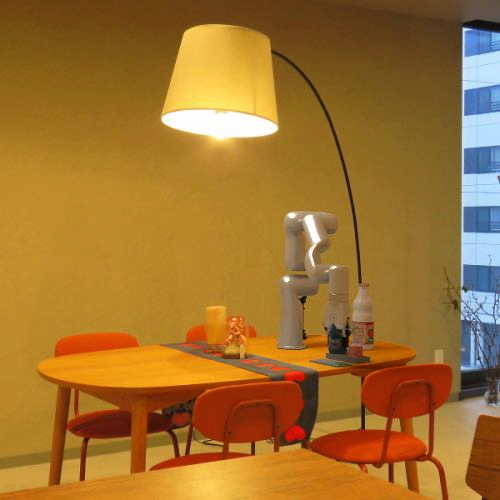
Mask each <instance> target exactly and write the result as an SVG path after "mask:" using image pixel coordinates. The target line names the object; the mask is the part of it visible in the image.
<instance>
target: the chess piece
mask: <svg viewBox="0 0 500 500" xmlns="http://www.w3.org/2000/svg"><path fill="white" fill-rule="evenodd" d="M300 297H301V298H300ZM300 297H298V299H299V300H300V302H301V303H302V305H303V341H306V340H307V339H308V336H307V333H306V329H304V323H305V321H304V319H305V315H304V314H305V311H304V310H305V309H306V308H305V306H304V305H305V304H306V303H307V299H308V296H300Z"/></svg>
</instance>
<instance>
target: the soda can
mask: <svg viewBox="0 0 500 500" xmlns="http://www.w3.org/2000/svg"><path fill="white" fill-rule="evenodd" d="M345 328H346V327H345ZM345 333H346V330H345ZM342 337H343V334H342V330H338V329H337V327H336V326H335V325H334V323H332V324H331V325H330V326H329V342H328V345H327V347H328V348H327V349H328V353H330V354H331V355H345V354H346V352H347V347H346V348H342Z"/></svg>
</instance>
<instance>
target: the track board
mask: <svg viewBox="0 0 500 500" xmlns="http://www.w3.org/2000/svg"><path fill="white" fill-rule="evenodd" d="M309 363H313V364H318V365H324V366H329V367H333V368H342V367H349V366H350V367H351V366H353V363H350V362H345V361H339V360H334V359H328V358H316V359H309Z"/></svg>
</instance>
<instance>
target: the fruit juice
mask: <svg viewBox="0 0 500 500" xmlns="http://www.w3.org/2000/svg"><path fill="white" fill-rule="evenodd" d="M357 288H358V291H357V294H356V297H355V298H354V299H353V301H352V308H353V312H352V313H351V322H352V324H353V325H354V326H355V329H354V330H353V331H352V333H351V344H352V345H360V346H363V351H371V350H373V349H374V347H375V343H374V342H375V339H374V338H375V314H374V307H375V302H374V300H373V299H372V297H371V295H370V291H369V288H370V283H357Z"/></svg>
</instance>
